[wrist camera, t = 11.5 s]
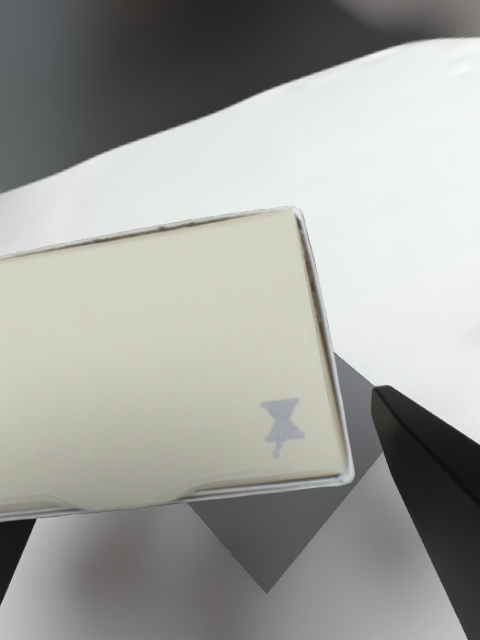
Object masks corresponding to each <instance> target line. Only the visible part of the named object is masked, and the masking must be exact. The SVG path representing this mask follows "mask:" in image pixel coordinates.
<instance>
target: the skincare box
mask: <svg viewBox="0 0 480 640" xmlns="http://www.w3.org/2000/svg"><path fill="white" fill-rule="evenodd" d="M354 476H355V472H354V464H353V459H352V454H351V448H350V443H349V437H348V431H347V425H346V419H345V412H344V407H343V401H342V396H341V390H340V385H339V379H338V374H337V368H336V363H335V357H334V352H333V347H332V342H331V337H330V331H329V325H328V321H327V316H326V311H325V307H324V302H323V297H322V292H321V288H320V283H319V278H318V273H317V269H316V264H315V260H314V256H313V252H312V248H311V245H310V241H309V237H308V233H307V229H306V225H305V220H304V216H303V214H302V212H301V210H300V209H299V208H296V207H295V206H284V207H278V208H272V209H260V210H252V211H246V212H240V213H231V214H223V215H218V216H211V217H205V218H199V219H194V220H193V219H189V220H185V221H180V222H175V223H168V224H162V225H157V226H153V227H147V228H141V229H135V230H129V231H124V232H119V233H114V234H109V235H103V236H98V237H93V238H87V239H82V240H76V241H72V242H68V243H61V244H56V245H51V246H46V247H41V248H37V249H33V250H28V251H22V252H17V253H13V254H9V255H5V256H0V522H5V521H15V520H25V519H35V518H46V517H57V516H65V515H72V514H86V513H98V512H107V511H116V510H125V509H134V508H143V507H152V506H161V505H169V504H178V503H186V502H194V501H203V500H212V499H222V498H233V497H241V496H249V495H258V494H268V493H279V492H287V491H294V490H300V489H309V488H319V487H332V486H341V485H345V484H348V483H351V482H352V480H353V479H354Z"/></svg>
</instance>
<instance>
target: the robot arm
mask: <svg viewBox="0 0 480 640" xmlns="http://www.w3.org/2000/svg"><path fill="white" fill-rule="evenodd" d="M371 416H372V419H373V422H374V425H375V428H376V431H377V434H378V437H379V440H380V443H381V446H382V449H383V452H384V455H385V458H386V461H387V464H388V467H389V470H390V472H391V475H392V477H393V479H394V482H395V484H396V486H397V488H398V490H399V493H400V495H401V497H402V499H403V501H404V503H405V505H406V508H407V510H408V512H409V514H410V516H411V518H412V521H413V523H414V525H415V527H416V529H417V531H418V533H419V536H420V538H421V540H422V542H423V544H424V546H425V548H426V551H427V553H428V555H429V557H430V559H431V561H432V563H433V566H434V568H435V570H436V572H437V574H438V576H439V578H440V581H441V583H442V585H443V587H444V589H445V591H446V593H447V596H448V598H449V600H450V602H451V604H452V606H453V608H454V611H455V613H456V615H457V617H458V619H459V621H460V624H461V626H462V628H463V630H464V632H465V634H466V636H467V639H468V640H480V444H478V443H476V442H475V441H473V440H472V439H470V438H469V437H467V436H466V435H464V434H463V433H461V432H460V431H458V430H457V429H455V428H454V427H452V426H451V425H449V424H448V423H446V422H445V421H443V420H442V419H440V418H439V417H437V416H435V415H434V414H432V413H431V412H429V411H428V410H426V409H425V408H423V407H422V406H420V405H419V404H417V403H416V402H414V401H413V400H411V399H410V398H408V397H407V396H405V395H404V394H402V393H401V392H399V391H397V390H396V389H394V388H393V387H391V386H389V385H383V386H375V387H373V389H372V397H371ZM36 520H37V518H35V519H25V520H15V521H5V522H0V605H1V603H2V601H3V598H4V596H5V594H6V591H7V589H8V586H9V584H10V582H11V579H12V577H13V574H14V572H15V570H16V567H17V565H18V563H19V560H20V558H21V555H22V553H23V551H24V548H25V546H26V543H27V541H28V539H29V536H30V534H31V532H32V529H33V527H34V524H35V522H36Z"/></svg>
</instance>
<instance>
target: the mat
mask: <svg viewBox="0 0 480 640" xmlns="http://www.w3.org/2000/svg"><path fill="white" fill-rule="evenodd" d="M334 357H335V363H336V368H337V374H338V379H339V385H340V390H341V396H342V401H343V407H344V412H345V419H346V425H347V431H348V437H349V443H350V448H351V454H352V459H353V464H354V472H355V476H354V479H353V480H352V482H351V483H348V484H345V485H341V486H332V487H319V488H309V489H300V490H294V491H287V492H279V493H268V494H258V495H249V496H241V497H233V498H222V499H212V500H203V501H194V502H187V503H188V504H189V505H190V506H191V507H192V508H193V509H194V511H195V512H196V513H197V514H198V515H199V516H200V517H201V519H202V520H203V521H204V522H205V523H206V524H207V526H208V527H209V528H210V529H211V530H212V531H213V532H214V534H215V535H216V536H217V537H218V538H219V539H220V541H221V542H222V543H223V544H224V545H225V546H226V547H227V549H228V550H229V551H230V552H231V553H232V554H233V556H234V557H235V558H236V559H237V560H238V561H239V562H240V564H241V565H242V566H243V567H244V568H245V569H246V571H247V572H248V573H249V574H250V575H251V576H252V577H253V579H254V580H255V581H256V582H257V583H258V584H259V586H260V587H261V588H262V589H263V590H264V591H265V592H266V594H267V593H268V592H269V591H270V589H271V588H272V587H273V586H274V584H275V583H276V582H277V581H278V579H279V578H280V577H281V576H282V575H283V573H284V572H285V571H286V570H287V568H288V567H289V566H290V565H291V564H292V562H293V561H294V560H295V559H296V557H297V556H298V555H299V554H300V552H301V551H302V550H303V549H304V548H305V546H306V545H307V544H308V543H309V541H310V540H311V539H312V538H313V537H314V535H315V534H316V533H317V532H318V530H319V529H320V528H321V527H322V525H323V524H324V523H325V522H326V521H327V519H328V518H329V517H330V516H331V514H332V513H333V512H334V511H335V510H336V508H337V507H338V506H339V505H340V503H341V502H342V501H343V500H344V498H345V497H346V496H347V495H348V494H349V492H350V491H351V490H352V489H353V487H354V486H355V485H356V484H357V483H358V481H359V480H360V479H361V478H362V476H363V475H364V474H365V473H366V471H367V470H368V469H369V468H370V467H371V465H372V464H373V463H374V462H375V460H376V459H377V458H378V457H379V456H380V454H381V453H382V452H383V449H382V446H381V443H380V440H379V437H378V434H377V431H376V428H375V425H374V422H373V419H372V416H371V397H372V389H373V387H375V386H374V385H372V384H371V383H370V382H369V381H368V380H367V379H365V378H364V377H363V376H362V375H361V374H359V373H358V372H357V371H356V370H355V369H353V368H352V367H351V366H350V365H349V364H347V363H346V362H345V361H344V360H343V359H341V358H340V357H339V356H338V355H337V354H336V353H334Z"/></svg>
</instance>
